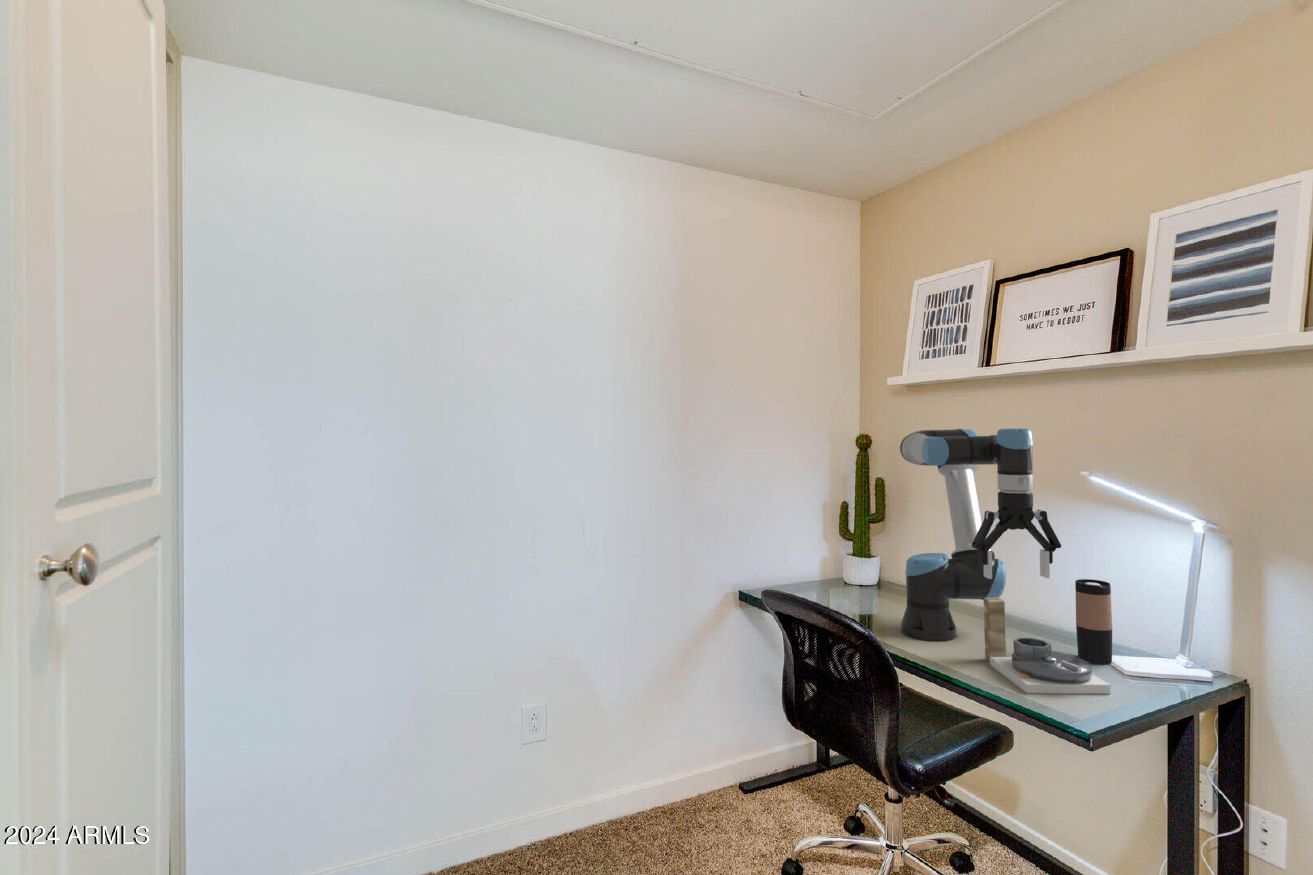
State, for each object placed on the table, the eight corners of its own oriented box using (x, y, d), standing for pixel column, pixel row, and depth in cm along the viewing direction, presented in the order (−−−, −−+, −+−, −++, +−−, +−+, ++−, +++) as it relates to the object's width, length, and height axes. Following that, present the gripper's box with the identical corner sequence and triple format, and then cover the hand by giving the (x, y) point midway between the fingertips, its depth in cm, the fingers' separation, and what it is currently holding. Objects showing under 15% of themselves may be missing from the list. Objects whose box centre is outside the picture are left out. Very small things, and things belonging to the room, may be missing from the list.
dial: (998, 656, 155) (998, 637, 156) (1065, 656, 154) (1064, 637, 154) (1033, 681, 139) (1033, 660, 139) (1108, 682, 138) (1107, 660, 138)
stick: (985, 658, 161) (983, 597, 162) (999, 658, 161) (997, 597, 161) (991, 663, 158) (989, 601, 158) (1006, 663, 158) (1004, 601, 158)
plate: (990, 664, 157) (989, 654, 157) (1063, 664, 156) (1063, 655, 156) (1027, 693, 139) (1026, 682, 139) (1110, 693, 138) (1110, 682, 138)
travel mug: (1078, 652, 164) (1076, 577, 165) (1114, 658, 160) (1111, 581, 160) (1075, 660, 159) (1073, 583, 159) (1112, 667, 154) (1110, 586, 154)
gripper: (969, 494, 148) (971, 581, 148) (1077, 491, 146) (1078, 580, 147) (956, 490, 155) (957, 574, 156) (1058, 488, 154) (1059, 572, 154)
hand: (1016, 577), depth 151 cm, fingers open, 13 cm apart
